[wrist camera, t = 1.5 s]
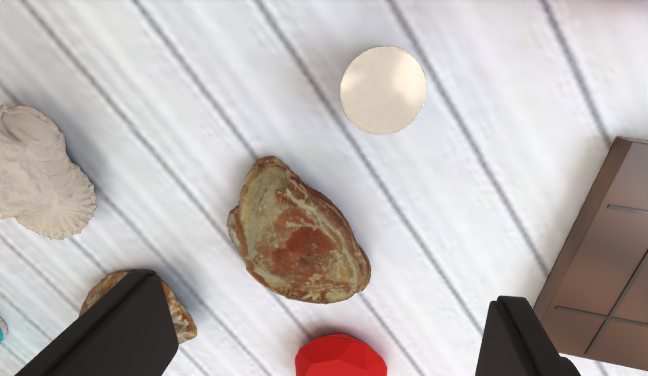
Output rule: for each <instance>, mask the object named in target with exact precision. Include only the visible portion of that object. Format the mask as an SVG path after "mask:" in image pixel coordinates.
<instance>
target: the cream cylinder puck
mask: <svg viewBox="0 0 648 376" xmlns="http://www.w3.org/2000/svg"><path fill="white" fill-rule="evenodd" d="M426 94H427V82H426V77H425V74H424V71H423V69H422V67H421V65H420V64H419V62H418V61H417V60H416V59H415V58H414V57H413V56H412V55H411V54H409V53H408V52H406V51H404V50H402V49H400V48H397V47H392V46H379V47H375V48H371V49H369V50H367V51H365V52H363V53H361V54H360V55H358V56H357V57H356V58H355V59H354V60H353V61H352V62H351V63H350V64H349V66H348V67H347V69H346V71H345V73H344V75H343V78H342V81H341V86H340V100H341V104H342V107H343V110H344V112H345V114H346V116H347V117H348V119H349V120H350V121H351V122H352V123H353V124H354V125H355V126H356V127H358V128H359V129H361V130H363V131H365V132H368V133H371V134H376V135H386V134H392V133H395V132H398V131H400V130H402V129H404V128H405V127H407V126H408V125H410V124H411V123H412V122H413V121H414V120H415V119H416V117H417V116H418V115H419V113H420V112H421V110H422V108H423V106H424V103H425V100H426Z"/></svg>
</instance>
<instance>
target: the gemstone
mask: <svg viewBox="0 0 648 376" xmlns="http://www.w3.org/2000/svg"><path fill="white" fill-rule="evenodd" d="M295 366H296V376H387V366H386V364H385V362H384V360H383V358H382V357H381V356H380V355H378V354H377V353H376V352H375V351H374V350H373V349H372V348H371V347H370V346H369V345H368V344H366V343H364V342H362V341H359V340H357V339H354V338H352V337H350V336H347V335H345V334H342V333H340V334H333V335H327V336H322V337H318V338H315V339H314V340H312V341H311V342H309V343H308V344H306V345H305V346H304V347H302V348H301V349H299V351H298V353H297V355H296V357H295Z"/></svg>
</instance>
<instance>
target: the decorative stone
mask: <svg viewBox="0 0 648 376" xmlns="http://www.w3.org/2000/svg"><path fill="white" fill-rule="evenodd" d="M128 273H129V272H125V271H119V272H117V273H114V274H110V275H108V276H107V277H106V278H105V279H103V280H102V281H101V282H100V283H99V284H98V285H96V286H95V287H93V288H92V290H91V291H90V292H89V293H88V296H87V298H86V299H85V301H84V303H83V305H82V307H81V311H80V314H79V317H80V316H81V315H82V314H83V313H84V312H85V311H87V310H88V309H89V308H90V307H91V306H92V305H93V304H94V303H95V302H97V301H98V300H99V299H100V298H101V297H102V296H103V295H104V294H105V293H107V292H108V291H109V290H110V289H111V288H112V287H113V286H114V285H115V284H117V283H118V282H119V281H120V280H121V279H122V278H123V277H124V276H125V275H127V274H128ZM161 281H162V285H163V288H164V292H165V295H166V299H167V302H168V306H169V309H170V313H171V316H172V320H173V323H174V327H175V330H176V334H177V337H178V342H179V344H180V343H183V342H185V341H187V340H191V339H193V338H195V337H196V335H197V328H196V326H195V324H194V321H193V319H192V317H191V315H190V314H189V312H188V311H187V310H186V309H185V307H184V306H182V305H181V304H180V303H179V302H178V300H177V298H176V297H175V295H174V293H173V292H172V290H171V289H170V288H169V286H168V285H167V284H166V283H165V282H164V281H163V280H161ZM79 317H78V318H79Z"/></svg>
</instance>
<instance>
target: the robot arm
mask: <svg viewBox="0 0 648 376" xmlns="http://www.w3.org/2000/svg"><path fill="white" fill-rule="evenodd" d="M178 345H179V342H178V337H177V334H176V330H175V327H174V323H173V320H172V316H171V313H170V309H169V306H168V302H167V299H166V295H165V292H164V288H163V285H162V281H161V278H160V277H159V276H157V274H156V273H155V272H154V271H151V270H137V269H135V270H132V271H130V272H129V273H128V274H127V275H125V276H124V277H123V278H122V279H121V280H120V281H119V282H118V283H117V284H115V285H114V286H113V287H112V288H111V289H110V290H109V291H108V292H107V293H105V294H104V295H103V296H102V297H101V298H100V299H99V300H98V301H97V302H95V303H94V304H93V305H92V306H91V307H90V308H89V309H88V310H87V311H85V312H84V313H83V314H82V315H81V316H80V317H79V318H78V319H77V320H76V321H74V322H73V323H72V324H71V325H70V326H69V327H68V328H67V329H66V330H64V331H63V332H62V333H61V334H60V335H59V336H58V337H57V338H56V339H54V340H53V341H52V342H51V343H50V344H49V345H48V346H47V347H46V348H44V349H43V350H42V351H41V352H40V353H39V354H38V355H37V356H36V357H34V358H33V359H32V360H31V361H30V362H29V363H28V364H27V365H26V366H24V367H23V368H22V369H21V370H20V371H19V372H18V373H17V374H16V375H14V376H161V375H162V374H163V372H164V371H165V369H166V368H167V366H168V365H169V363H170V362H171V360H172V359H173V357H174V356H175V354H176V352H177V350H178ZM475 376H581V375H580V373H579V372H578V370H577V368H576V367H575V366H574V364H573V363H572V362H571V361H570V360H569V359H568V358H566V357H560V355H559V353H558V352H557V350H556V348H555V347H554V345H553V343H552V341H551V340H550V338H549V336H548V335H547V333H546V331H545V329H544V328H543V326H542V324H541V323H540V321H539V319H538V317H537V316H536V314H535V312H534V311H533V309H532V307H531V306H530V304H529V302H528V301H527V299H526V298H524V297H513V296H499V297H498V298H497V301H491V302H490V305H489V309H488V314H487V319H486V324H485V329H484V334H483V339H482V343H481V348H480V353H479V358H478V363H477V368H476V373H475Z"/></svg>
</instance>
